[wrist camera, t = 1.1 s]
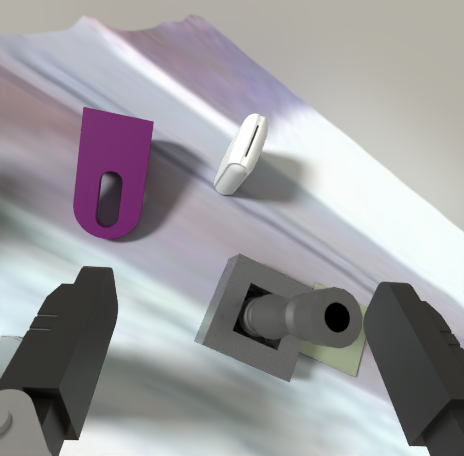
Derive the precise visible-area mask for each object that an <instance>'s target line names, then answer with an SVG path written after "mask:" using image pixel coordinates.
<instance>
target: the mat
mask: <svg viewBox="0 0 464 456" xmlns="http://www.w3.org/2000/svg"><path fill="white" fill-rule="evenodd" d="M325 288H326V287H324V286H322V285H320V284H318V283H315V284H314V287H313V290H317V289H325ZM358 304H359V303H358ZM359 305H360V309H361V312H362V316H363V319H364V315H365V312H366V310H367V307H365V306H363V305H361V304H359ZM363 319H362V329H361V332H360V334H359V336H358V339H356V340H355V341H354V342H353V343H352V344H351V345H350V346H347V347H344V348H341V349H339V348H333V347H327V346H321V345H315V344H312V343H310V342H309V341H302V344H301V347H300V350H299V352H300V353H303V354H305V355H307V356H309V357H311V358H314V359H316V360H318V361H320V362H322V363H325V364H327V365H329V366H331V367H333V368H336V369H338V370H340V371H342V372H345V373H347V374H349V375H351V376H353V377H356V374H357V370H358V366H359V362H360V358H361V354H362V350H363V346H364V342H365V338H366V336H365V333H364V328H363Z"/></svg>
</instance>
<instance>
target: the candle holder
mask: <svg viewBox="0 0 464 456" xmlns="http://www.w3.org/2000/svg"><path fill="white" fill-rule="evenodd" d="M362 319H363V316H362V312H361V309H360V305H359V304H358V302H357V301H356V299H355V298H354V296H353V295H351V294H350V293H349V292H347V291H346V290H344V289H340V288H336V287H332V288H325V289H317V290H313V291H309V292H308V293H303V294H299V295H295V296H294V297H293V298H292V299H290V300H289V299H287V298H285V297H283V296H281V295H276V294H269V295H264V296H262V297H260V296H252V297H247V298H245V299H244V302H243V304H242V307H241V310H240V312H239V315H238V317H237V320H236V322H235V327H236V328H237V330H238V331H239V332H241V333H242V334H244V335H248V336H254V337H261V336H263V337H264V338H267V339H273V340H276V339H280V338H283V337H285V336H287V335H289V334H291V335H293V336H294V337H295V338H297V339H298V340H303V341H309V342H310V343H312V344H315V345H321V346H327V347H333V348H339V349H341V348H344V347H347V346H350V345H351V344H352V343H353V342H354V341H355V340H356V339H358V336H359V334H360V332H361V329H362Z"/></svg>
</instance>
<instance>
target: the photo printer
mask: <svg viewBox="0 0 464 456" xmlns="http://www.w3.org/2000/svg"><path fill="white" fill-rule="evenodd" d="M267 132H268V121H267V119H266V118H265V117H262V116H260V115H259V114H251V115H249V116H248V117H247V118H246V119H245V121H244V122H243V124H242V126H241V127H240V129H239V131H238V132H237V134H236V136H235V137H234V139H233V141H232V142H231V144H230V146H229V148H228V150H227V152H226V154H225V156H224V158H223V161H222V163H221V165H220V168H219V170H218V173H217V176H216V179H215V182H214V187H215V189H216V190H217V191H218V192H219V193H220V194H222V195H229V194H230V195H232V194H233V193H234V192H235V191H236V190H237V188H238V187H239V186H240V185H241V184H242V182H243V181H244V180H245V179H246V178H247V177H248V175H249V174H250V173H251V171H252V170H253V168H254V167H255V165H256V162H257V160H258V158H259V156H260V153H261V151H262V148H263V146H264V143H265V140H266V137H267Z"/></svg>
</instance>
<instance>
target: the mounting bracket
mask: <svg viewBox="0 0 464 456" xmlns="http://www.w3.org/2000/svg"><path fill="white" fill-rule="evenodd" d="M153 123H154V122H153V121H148V120H143V119H138V118H134V117H129V116H124V115H120V114H115V113H110V112H105V111H101V110H96V109H91V108H86V107H84V108H83V117H82V127H81V136H80V146H79V156H78V165H77V175H76V184H75V194H74V204H73V208H74V214H75V217H76V219H77V221H78V223H79V224H80V225H81V227H82V228H83V229H84V230H85V231H87V232H88V233H90V234H91V235H94V236H96V237H99V238H104V239H113V238H118V237H121V236H124V235H125V234H127V233H129V232H130V231H131V230H132V229H133V228H134V227H135V226H136V224H137V223H138V221H139V218H140V215H141V209H142V202H143V195H144V188H145V181H146V174H147V167H148V160H149V153H150V146H151V138H152V131H153ZM108 171H114V172H116V173H118V174H119V175H120V176H121V178H122V180H123V186H122V193H121V201H120V209H119V217H118V221H117V222H116V223H115V224H113V225H104V224H102V223H101V222H100V221H99V219H98V216H97V214H98V205H99V197H100V188H101V180H102V176H103V175H104V173H106V172H108Z"/></svg>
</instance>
